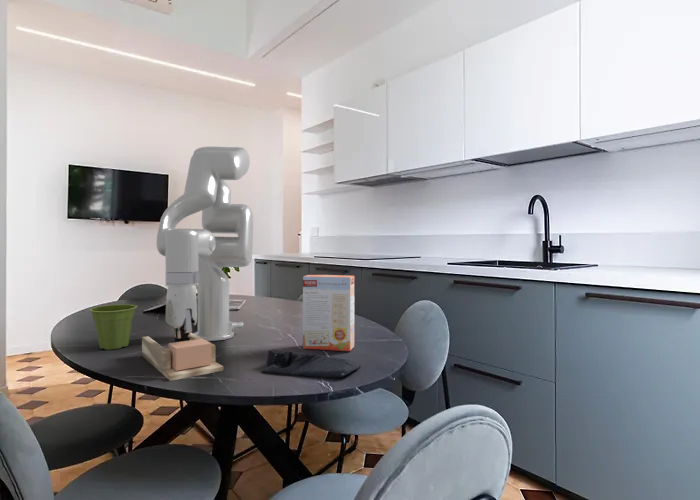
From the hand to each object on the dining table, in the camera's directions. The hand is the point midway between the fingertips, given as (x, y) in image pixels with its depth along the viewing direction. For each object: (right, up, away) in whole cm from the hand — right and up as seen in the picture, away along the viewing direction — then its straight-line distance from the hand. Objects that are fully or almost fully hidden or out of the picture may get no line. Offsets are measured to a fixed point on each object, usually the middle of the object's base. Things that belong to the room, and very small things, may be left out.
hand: (182, 353), depth 104 cm
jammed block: (+4, -2, -4) cm, 6 cm away
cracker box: (+35, -3, +17) cm, 39 cm away
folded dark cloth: (+32, -4, -2) cm, 33 cm away
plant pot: (-26, -2, +17) cm, 31 cm away
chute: (-1, -3, +2) cm, 4 cm away
